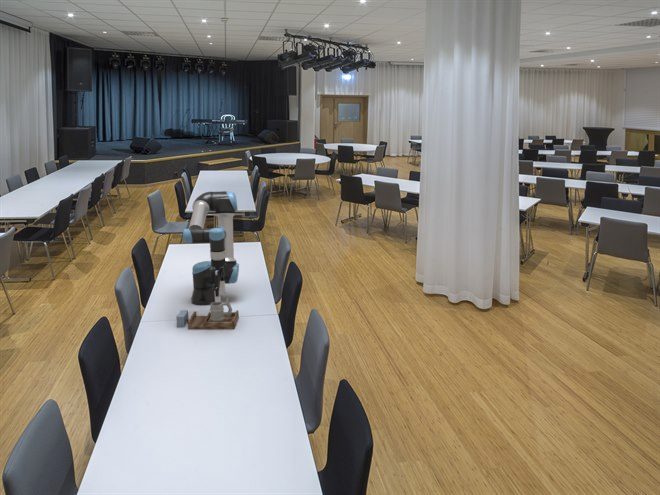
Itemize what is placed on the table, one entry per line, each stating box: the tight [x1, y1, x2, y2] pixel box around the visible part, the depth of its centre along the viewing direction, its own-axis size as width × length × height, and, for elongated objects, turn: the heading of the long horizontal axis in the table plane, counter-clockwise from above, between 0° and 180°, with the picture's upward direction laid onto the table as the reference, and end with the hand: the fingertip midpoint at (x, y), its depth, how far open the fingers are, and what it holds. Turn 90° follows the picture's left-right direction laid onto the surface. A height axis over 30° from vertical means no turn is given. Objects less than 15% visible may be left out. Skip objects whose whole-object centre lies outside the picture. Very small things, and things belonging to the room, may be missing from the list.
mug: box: [209, 297, 233, 322], centre depth 290 cm, size 8×12×12 cm, turn 110°
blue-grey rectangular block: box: [175, 309, 190, 328], centre depth 290 cm, size 9×4×6 cm, turn 1°
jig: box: [187, 310, 240, 330], centre depth 290 cm, size 24×15×4 cm, turn 91°
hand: (220, 297), depth 288 cm, fingers open, 13 cm apart
